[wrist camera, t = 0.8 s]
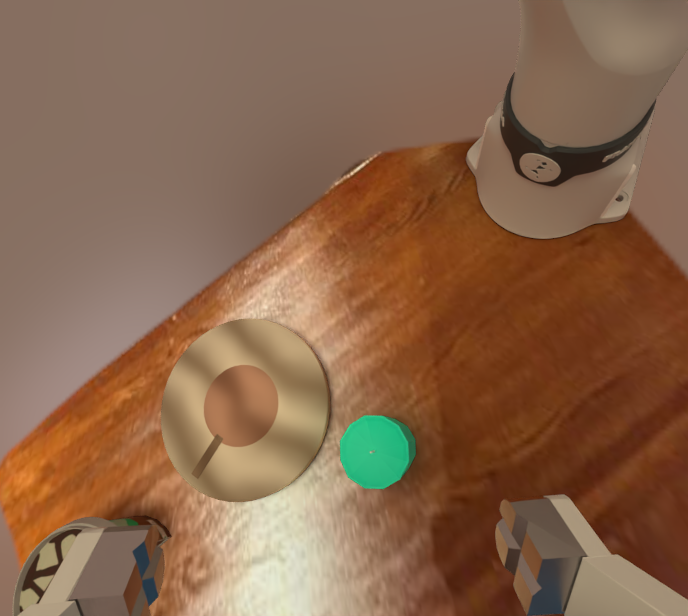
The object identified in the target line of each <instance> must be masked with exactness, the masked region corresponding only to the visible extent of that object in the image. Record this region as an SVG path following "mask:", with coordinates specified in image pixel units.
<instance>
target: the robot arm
mask: <svg viewBox="0 0 688 616" xmlns="http://www.w3.org/2000/svg"><path fill="white" fill-rule="evenodd" d="M518 1H519V5H520V10H521V28H520V40H519V49H518V57H517V63H516V69H515V72H514V74H513V75H512V77H511V79H510V81H509V84H508V86H507V90H506V91H505V94H504V97H503V101H500V102H499V103H498V105H497V106H496V108H495V113H494V115H493V116H490V117H489V118H488V119H487V121H486V124H485V128H484V132H483V135H482V136H481V137H480V138H479V140H478V141H477V142H476V143H475V144H474V145H473V146H472V147H471V148H470V149H469V151H468V153H467V156H466V162H467V165H468V166H469V168H470V170H471V171H472V173H473V174H474V175H475V177H476V181H477V189H478V195H479V199H480V201H481V204H482V206H483V208H484V209H485V211H486V212H487V214H488V215H489V216H490V217H491V218H492V219H493V220H494V221H495V222H496V223H497V224H499V225H500V226H502V227H503V228H505V229H507V230H508V231H510V232H513V233H515V234H518V235H521V236H525V237H530V238H539V239H549V238H557V237H562V236H566V235H569V234H572V233H575V232H577V231H579V230H581V229H583V228H585V227H587V226H590V225H592V224H596V223H607V222H614V221H618V220H620V219H622V218H623V217H625V215H626V213H627V212H628V210H629V207H630V203H631V199H632V195H633V191H634V188H635V184H636V180H637V176H638V172H639V169H640V165H641V161H642V158H643V154H644V150H645V146H646V142H647V139H648V135H649V131H650V127H651V124H652V120H653V116H654V112H655V103H656V98H657V96H658V95H659V93H660V92H661V90H662V89H663V87H664V86H665V84H666V82H667V81H668V79H669V78H670V76H671V75H672V73H673V72H674V70H675V68H676V67H677V66H678V64H679V62H680V61H681V59H682V58H683V56H684V55H685V53H686V51H687V50H688V0H518ZM616 198H619V199H620V200H621V201H620V202H618V201H616V200H615V199H616ZM499 511H500V513H501V515H502V517H503V518H502V519H501V520H500V521H499V522H498V523H497V525H496V532H495V538H496V546H497V550H498V553H499V556H500V559H501V561H502V563H503V565H504V567H505V568H506V569H507V570H509V571H510V572H511V573H512V574H513V575H515V579H514V584H513V587H514V589H515V591H516V593H517V595H518V597H519V600H520V602H521V604H522V606H523V608H524V610H525V612H526V614H527V616H533V615H549V614H564V616H688V600H687V599H685V598H684V597H682V596H681V595H679V594H678V593H676V592H675V591H673V590H672V589H670V588H669V587H667V586H665V585H664V584H662V583H661V582H659V581H658V580H656V579H655V578H653V577H652V576H650V575H649V574H647V573H646V572H644V571H642V570H641V569H639V568H638V567H636V566H635V565H633V564H632V563H630V562H629V561H627V560H626V559H624V558H622V557H621V556H619V555H611V553H610V552H609V551H608V549H607V548H606V547H605V545H604V544H603V543H602V541H601V540H600V539H599V537H598V536H597V534H596V533H595V532H594V530H593V529H592V528H591V526H590V525H589V524H588V522H587V521H586V520H585V518H584V517H583V516H582V514H581V513H580V512H579V510H578V509H577V508H576V506H575V505H574V504H573V502H572V501H571V499H570V498H569V497H567V496H566V495H564V494H563V495H549V496H533V497H521V498H509V499H504V500H503V501H502V502H501V505H500V510H499ZM158 538H159V532H158V529H157V525H137V526H115V527H99V528H85V529H83V530H82V531H81V532H80V533H79V534H78V535H77V537H76V539H75V540H74V542H73V544H72V546H71V548H70V549H69V551H68V553H67V555H66V556H65V558H64V560H63V562H62V563H61V565H60V567H59V569H58V570H57V572H56V574H55V576H54V577H53V579H52V581H51V583H50V584H49V586H48V588H47V590H46V592H45V593H44V595H43V597H42V599H41V600H40V602H39V604H31V605H30V606H28V607H27V608H26V609H25V610H24V611H22V612H21V613H20V614H19V615H18V616H151V614H150V610H149V606H150V605H151V604H152V603H153V602H154V601H155V600H156V599H157V598H158V596H159V593H160V590H161V586H162V583H163V576H164V569H165V560H164V553H163V549H161V548H160V547H159V546H157V545H156V544H157V541H158Z"/></svg>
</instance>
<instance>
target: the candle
mask: <svg viewBox="0 0 688 616" xmlns="http://www.w3.org/2000/svg"><path fill="white" fill-rule="evenodd" d="M415 456H416V444H415V438H414V436H413V435H412V433H411V431H410V430H409V428H408V426H406V425H405V424H403V423H401V422H400V421H398V420H396V419H394V418H390V417H386V416H363V417H361V418H360V419H358V420H357V421H355V422H353V423H352V424H350V425H349V427H348V429H347V430H346V432H345V434H344V435H343V437H342V438H341V440H340V460H341V462H342V465H343V467H344V469H345V471H346V474H347V476H348V478H350V479H351V480H353V481H354V482H356V483H357V484H359V485H360V486H362V487H363V488H370V489H384V488H386V487H388V486H389V485H391V484H393V483H395V482H396V481H398V480H400V479H401V477H402V476H403V475H404V474H405V472H406V471H407V470H408V469H409V467H410V465H411V463H412V461H413V460H414V458H415Z"/></svg>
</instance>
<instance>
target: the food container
mask: <svg viewBox="0 0 688 616" xmlns="http://www.w3.org/2000/svg"><path fill="white" fill-rule="evenodd" d="M137 525H157V529H158V532H159V538H158V541H157V544H156V545H157V546H161V545H162V544H163V543H164V542H165V541H167V540H168V539H169V538H170V537H171V535H170V533H169V531H168V530H167V528H166V527H165V526H164V525H162V524H161V523H160V522H159V521H158V520H157V519H154V518H151V517H148V516H134V517H128V518H122V519H116V520H109V521H108V520H105V519H102V518H97V517H86V518H81V519H77V520H74V521H72V522H70V523H68V524H66V525H64V526H63V527H61V528H59V529H57V530H55V531H54V532H53V533H51V534H50V535H48V536H47V537H46V538H45V539H44V540H43V541H42V542H41V543H40V544H39V545H37V546H36V548H35V549H34V550H33V551H32V553H31V554H30V555H29V557H28V558H27V560H26V562H25V563H24V565H23V568H22V570H21V572H20V574H19V577H18V580H17V583H16V587H15V592H14V598H13V616H18V615H19V614H20V613H21V612H22V611H24V610H25V609H26V608H27V607H28V606H30V605H31V604H39V602H40V600H41V599H42V597H43V595H44V593H45V592H46V590H47V588H48V586H49V584H50V583H51V581H52V579H53V577H54V576H55V574H56V572H57V570H58V569H59V567H60V565H61V563H62V562H63V560H64V558H65V556H66V555H67V553H68V551H69V549H70V548H71V546H72V544H73V542H74V540H75V539H76V537H77V535H78V534H79V533H80V532H81V531H82V530H83V529H85V528H99V527H115V526H137Z"/></svg>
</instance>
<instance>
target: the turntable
mask: <svg viewBox="0 0 688 616" xmlns="http://www.w3.org/2000/svg"><path fill="white" fill-rule="evenodd" d="M329 414H330V393H329V386H328V382H327V378H326V374H325V372H324V369H323V367H322V364H321V362H320V361H319V359H318V357H317V356H316V354H315V353H314V351H313V350H312V349H311V347H310V346H309V345H308V344H307V343H306V342H305V341H304V340H303V339H302V338H300V337H299V336H298V335H296V334H295V333H294V332H292V331H291V330H289V329H287V328H285V327H283V326H281V325H279V324H277V323H274V322H271V321H267V320H262V319H239V320H235V321H230V322H227V323H224V324H221V325H219V326H217V327H215V328H213V329H211V330H209V331H208V332H206V333H205V334H203V335H202V336H200V337H199V338H198V339H197V340H196V341H195V342H193V343H192V344H191V345H190V347H189V348H188V349H187V350H186V351H185V352H184V353H183V355H182V356H181V357H180V359H179V360H178V362H177V363H176V365H175V367H174V368H173V370H172V373H171V375H170V377H169V379H168V382H167V385H166V388H165V391H164V396H163V400H162V408H161V428H162V436H163V440H164V444H165V448H166V450H167V453H168V455H169V458H170V460H171V462H172V463H173V465H174V467H175V468H176V470H177V471H178V472H179V474H180V475H181V476H182V478H183V479H184V480H185V481H186V482H187V483H188V484H189V485H191V486H192V487H194V488H195V489H196V490H198V491H199V492H201V493H203V494H205V495H207V496H209V497H212V498H215V499H218V500H223V501H228V502H245V501H252V500H256V499H259V498H263V497H266V496H268V495H271V494H273V493H275V492H277V491H279V490H281V489H283V488H284V487H286V486H288V485H289V484H291V483H292V482H293V481H294V480H295V479H297V478H298V477H299V476H300V475H301V474H302V473H303V472H304V471H305V470H306V468H307V467H308V466H309V465H310V463H311V462H312V460H313V459H314V458H315V456H316V454H317V452H318V450H319V448H320V447H321V445H322V442H323V439H324V437H325V434H326V430H327V426H328V422H329Z"/></svg>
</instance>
